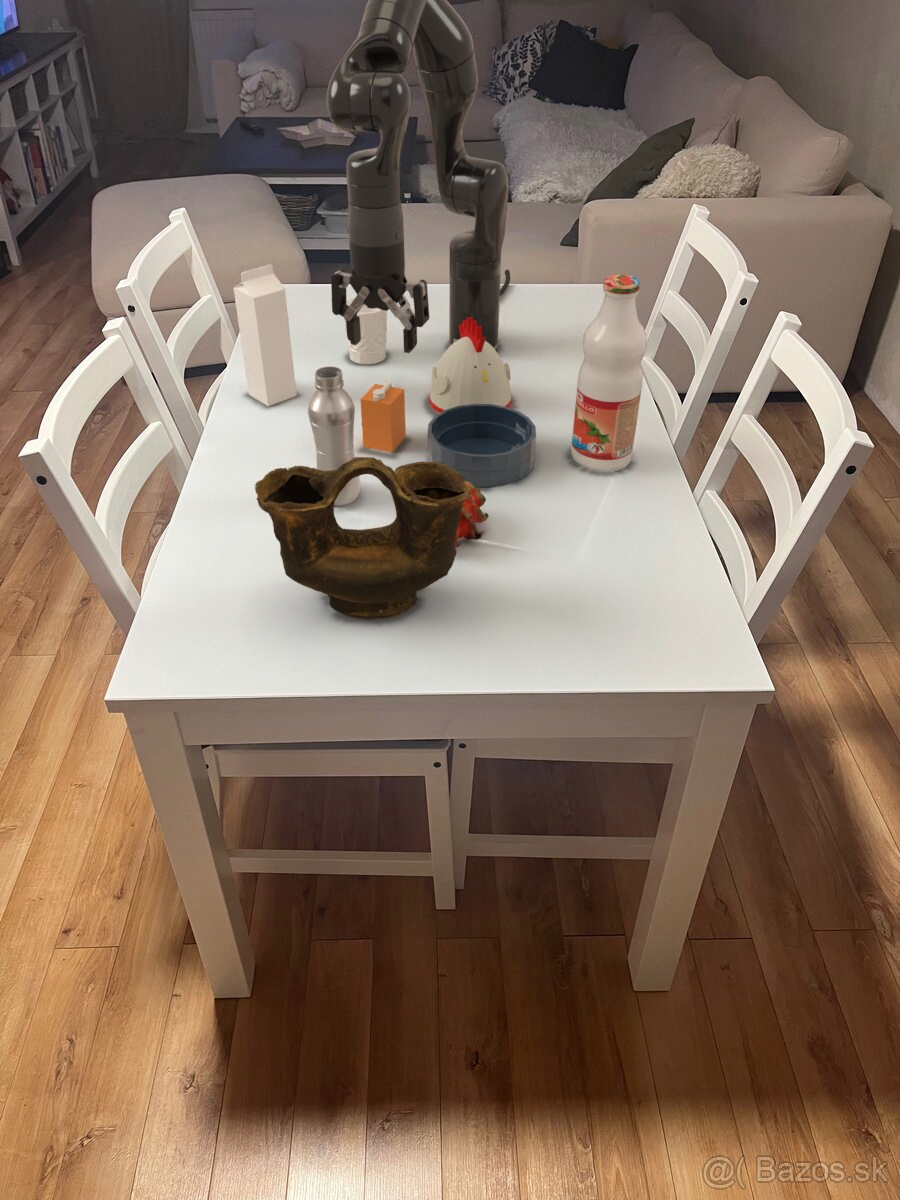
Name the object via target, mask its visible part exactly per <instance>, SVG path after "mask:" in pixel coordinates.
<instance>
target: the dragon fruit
mask: <svg viewBox="0 0 900 1200" xmlns="http://www.w3.org/2000/svg"><path fill="white" fill-rule="evenodd" d="M465 484H466V485H467V486H469V487H470V489H471V491H470V493H469V497H468V498H466V499H465V501H464V503H463V506H462V511H461V515H462V516H461V518H460V521H459V525H458V529H457V533H456V538H455V547H456V549H457V548H459V547H460V546H461V545H462V541H461V542H460V541H459V540H461V539H463V538H464V539H465V540H466V541H478V540H481V538H482V537H483V536H484V534H485V530H477V525H476V524H477V523H478V524H483V523H485V522H486V521H488V519H489V516H490V515H489V513H487V512H483V510H482V509H481V507H483V506H484V505H485V503H486V501H487V499H486V497H485V495H484V494H483V493H482V492H481V489H480V488H479V487H475V486H473V484H472V483H471V482H469V481H465Z"/></svg>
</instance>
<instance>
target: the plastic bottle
mask: <svg viewBox="0 0 900 1200" xmlns="http://www.w3.org/2000/svg"><path fill="white" fill-rule="evenodd" d="M343 378H344V377H343V370H342V369H341V368H339V367H337V366H323V367H319V368H318V369H316V371H314V380H315V381H314V387H315V389H316V391H315V392H314V394H313V395H312V396H311V398H310V400H309V402H308V406H307V415H308V418H309V423H310V427H311V430H312V434H313V440H314V446H315V452H316V469H318V470H322V471H330V470H337V469H338V468H339V467H340V466H341V465H342V464H344V463H346V462H348V461H350V460H351V459H353V458H355V457H356V456H355V450H354V449H355V447H354V428H355V418H356V417H355V414H356V407H355V403H354V401H353V399H352V397H351V396H350V395H349V393H348V392H347V391H346V390H345V389H344V385H345V384H344V383H345V381H344V379H343ZM361 484H362V483H361V478H360V476H358V477H355V478H353V479H351V480H350V481H349V482H348V483H347V484H346V486H345V487H344V488H343V490H342V491H341V492H340V493H339V495H338V497H337V499H336V500H335V502H334V507H343V506H347V505H351V504H352V503H353V502H355V501H356V500H357V498H358V497H359V495H360V492H361Z"/></svg>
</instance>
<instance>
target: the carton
mask: <svg viewBox="0 0 900 1200" xmlns="http://www.w3.org/2000/svg"><path fill="white" fill-rule="evenodd" d="M405 397H406V396H405V388H401V387H395V386H392V382H391V381H386V383H385V384H379V383H374V384H373V385H372V386H371V387H370V388H369V389H368V391H366V393H364V395H363V396H361V398H360V415H361V416H360V417H361V431H362V432H361V433H362V446H363V448H367V449H372V450H376V451H383V452H388V453H394V451H395V450H396V449H397V448H398V447H399V445H400V444H401V443H402V442H403V440H404V439H405V438H406V436H407V434H406V431H407V429H406V398H405Z"/></svg>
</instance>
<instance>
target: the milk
mask: <svg viewBox="0 0 900 1200" xmlns="http://www.w3.org/2000/svg"><path fill="white" fill-rule="evenodd" d="M240 278H241V282H240V283H239V284H236V285H235V286H233V293H234V303H235V309H236V316H237V322H238V329H239V336H240V343H241V349H242V357H243V363H244V370H245V378H246V384H247V391H248V395H249V396H250V397H251V398H254V399H255V400H256V401H258V402H260V403H261V404H263V405H264V406H267V407H271V406H273V405H276V404H279V403H282V402H284V401H287V400H290V399H292V398H295V397H296V396H298V395H297V386H296V376H295V366H294V359H293V350H292V340H291V339H292V338H291V332H290V330H291V329H290V322H289V311H288V305H287V295H286V288H285V286H284V285H283V284H282V283H281V281H280V280H279V279H278V277H277V276H276V274H275V273H274V266H273V264H271V263H269V264H267V265H263V266H258V267H256V268H253V269H249V270H245V271H243V272H241V273H240Z"/></svg>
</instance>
